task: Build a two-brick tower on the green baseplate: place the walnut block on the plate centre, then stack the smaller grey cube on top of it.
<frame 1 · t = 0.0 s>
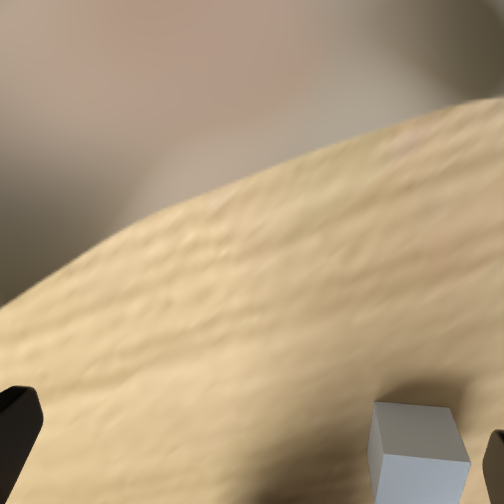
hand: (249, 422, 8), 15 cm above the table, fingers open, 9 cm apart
grey cube: (405, 429, 27), on the table
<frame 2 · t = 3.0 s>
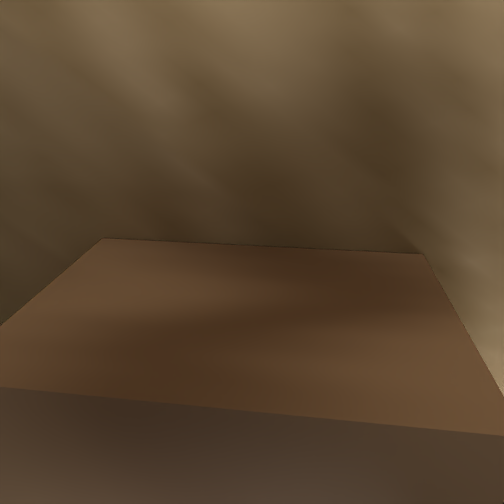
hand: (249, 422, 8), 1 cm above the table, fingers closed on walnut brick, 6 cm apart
walnut brick: (255, 372, 9), on the table, touching gripper
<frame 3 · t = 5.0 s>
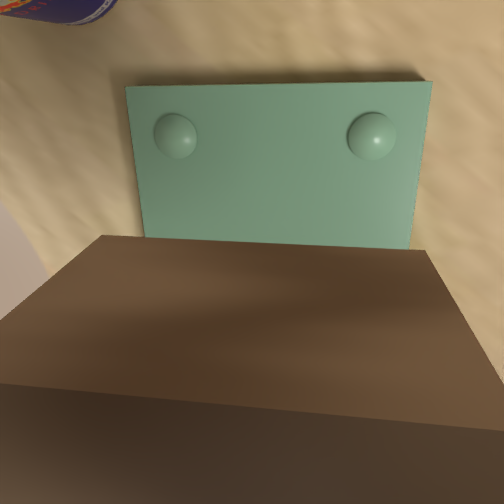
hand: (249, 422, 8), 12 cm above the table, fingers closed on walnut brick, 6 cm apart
walnut brick: (255, 370, 9), point 11 cm above the table, touching gripper
baseplate: (273, 221, 20), on the table
when the fingers open (3 cm above the table, at t = 6.9 s): walnut brick stays where it is, resting on baseplate.
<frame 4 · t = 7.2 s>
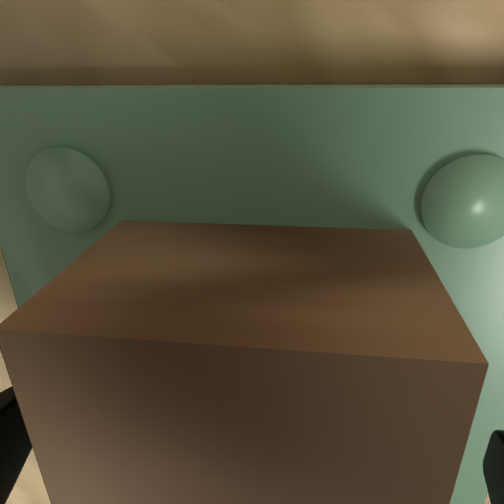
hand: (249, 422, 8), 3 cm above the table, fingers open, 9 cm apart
walnut brick: (260, 343, 10), point 1 cm above the table, touching baseplate
baseplate: (263, 331, 11), on the table
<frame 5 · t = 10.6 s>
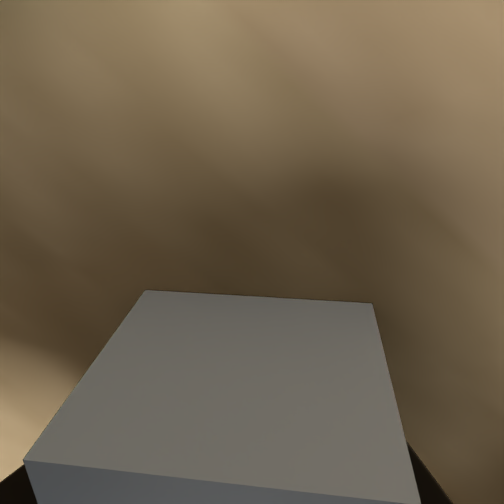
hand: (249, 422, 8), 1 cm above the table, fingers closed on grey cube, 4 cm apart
grey cube: (255, 384, 9), on the table, touching gripper
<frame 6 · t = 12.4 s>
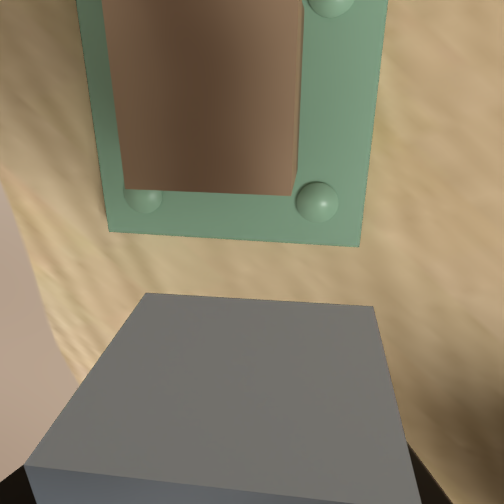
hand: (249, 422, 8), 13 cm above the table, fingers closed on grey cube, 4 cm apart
grey cube: (256, 387, 9), point 12 cm above the table, touching gripper
walnut brick: (227, 94, 17), point 1 cm above the table, touching baseplate
baseplate: (230, 102, 18), on the table
when the fingers open (7 cm above the table, at t = 14.3 s): grey cube stays where it is, resting on walnut brick.
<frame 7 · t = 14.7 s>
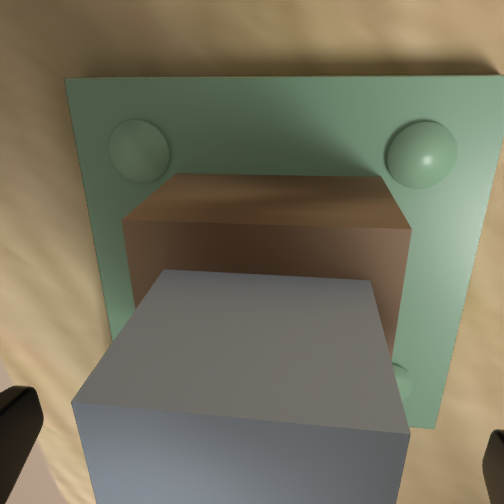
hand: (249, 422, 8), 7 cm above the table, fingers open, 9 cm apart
grey cube: (263, 357, 10), point 5 cm above the table, touching walnut brick
walnut brick: (274, 266, 13), point 1 cm above the table, touching baseplate, grey cube
baseplate: (275, 263, 15), on the table
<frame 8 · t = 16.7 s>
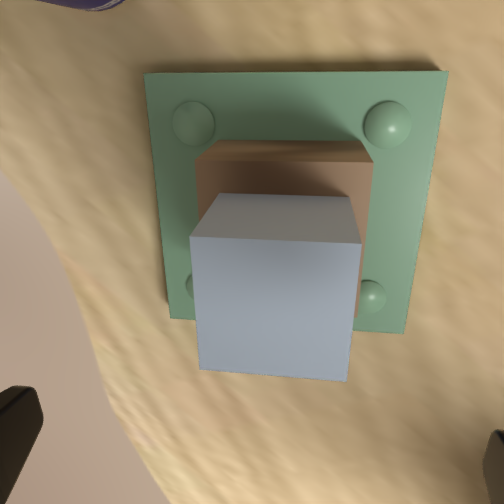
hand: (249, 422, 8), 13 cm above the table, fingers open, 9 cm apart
grey cube: (281, 253, 15), point 5 cm above the table, touching walnut brick
walnut brick: (286, 208, 19), point 1 cm above the table, touching baseplate, grey cube
baseplate: (286, 208, 20), on the table
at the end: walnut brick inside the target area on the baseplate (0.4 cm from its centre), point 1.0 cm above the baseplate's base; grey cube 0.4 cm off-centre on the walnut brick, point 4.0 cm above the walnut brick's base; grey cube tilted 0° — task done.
